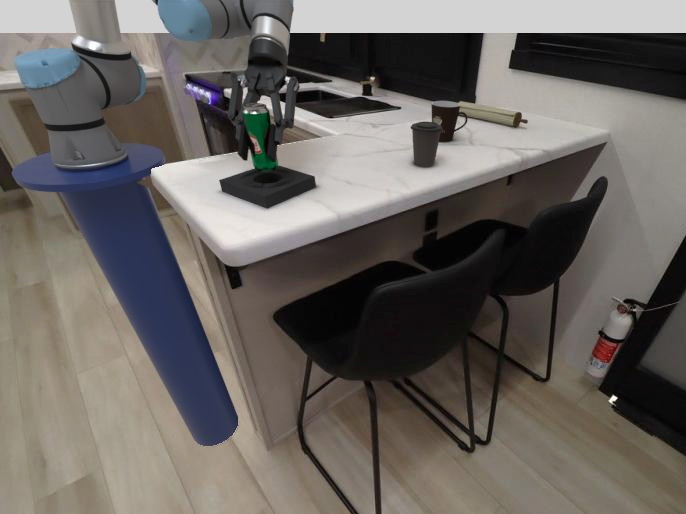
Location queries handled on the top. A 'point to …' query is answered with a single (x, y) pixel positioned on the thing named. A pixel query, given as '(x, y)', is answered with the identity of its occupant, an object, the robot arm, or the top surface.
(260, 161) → the soda can
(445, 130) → the coffee mug
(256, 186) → the socket pad
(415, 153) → the coffee cup
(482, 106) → the rolling pin
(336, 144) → the top surface
